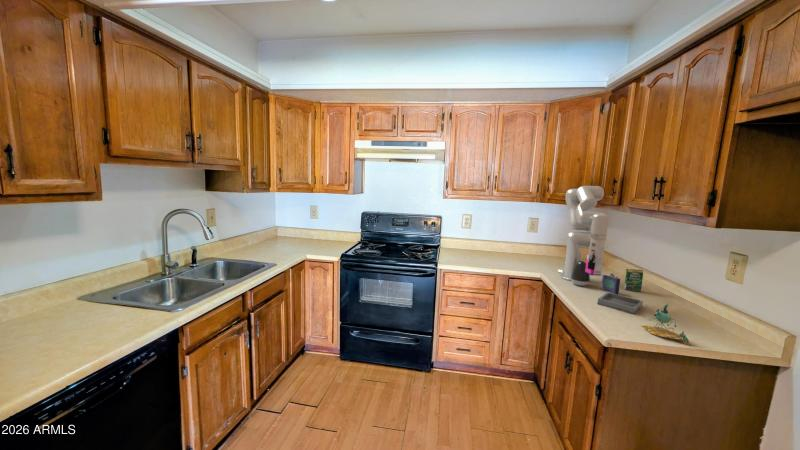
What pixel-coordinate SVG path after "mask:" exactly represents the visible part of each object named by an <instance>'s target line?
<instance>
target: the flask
mask: <svg viewBox="0 0 800 450" xmlns="http://www.w3.org/2000/svg"><path fill="white" fill-rule="evenodd" d="M601 276H602V277H601V278H602V279H601V282H600V283H601V285H600V290H601V291H604V292H606V293H607V292H609V293H610V292H611V293H613V294H617V295H619V293H620V284H621V278H620V277H618V276H616V275H615V274H614V272H610V273H609V274H607V273H602V274H601Z"/></svg>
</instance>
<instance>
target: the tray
mask: <svg viewBox="0 0 800 450" xmlns="http://www.w3.org/2000/svg"><path fill="white" fill-rule="evenodd" d="M597 305H599V306H603V307H607V308H611V309H614V310H617V311H620V312H624V313H626V314H628V313H629V314H632V315H636V314H637V313H638V312H639V310H641V308H643V305H644V300H640V299H637V298H633V297H629V296H625V295H621V294H618V295H617V294H613V293H610V292H607V291H606V293H603V295H602V296H600V297H598V299H597Z"/></svg>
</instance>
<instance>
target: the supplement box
mask: <svg viewBox="0 0 800 450" xmlns="http://www.w3.org/2000/svg"><path fill="white" fill-rule="evenodd" d="M593 257H595V255H593ZM588 260H589V252H586V260H585V262H586V269H585V272H586V273H588V274H589V275H590V276H598V277H599V276H602V272H603V271H602V270H603V261H604V255H601V257H600V258H596V260H595V269H594V270H592V269H588ZM593 260H594V258H593Z"/></svg>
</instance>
